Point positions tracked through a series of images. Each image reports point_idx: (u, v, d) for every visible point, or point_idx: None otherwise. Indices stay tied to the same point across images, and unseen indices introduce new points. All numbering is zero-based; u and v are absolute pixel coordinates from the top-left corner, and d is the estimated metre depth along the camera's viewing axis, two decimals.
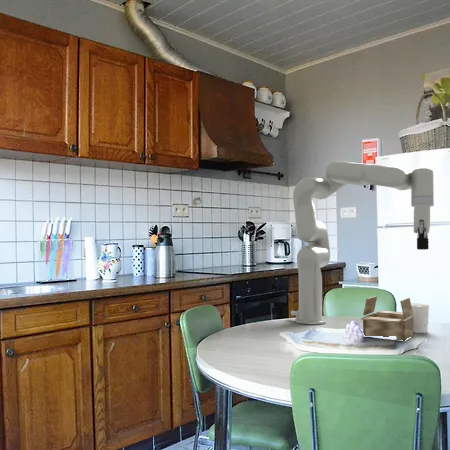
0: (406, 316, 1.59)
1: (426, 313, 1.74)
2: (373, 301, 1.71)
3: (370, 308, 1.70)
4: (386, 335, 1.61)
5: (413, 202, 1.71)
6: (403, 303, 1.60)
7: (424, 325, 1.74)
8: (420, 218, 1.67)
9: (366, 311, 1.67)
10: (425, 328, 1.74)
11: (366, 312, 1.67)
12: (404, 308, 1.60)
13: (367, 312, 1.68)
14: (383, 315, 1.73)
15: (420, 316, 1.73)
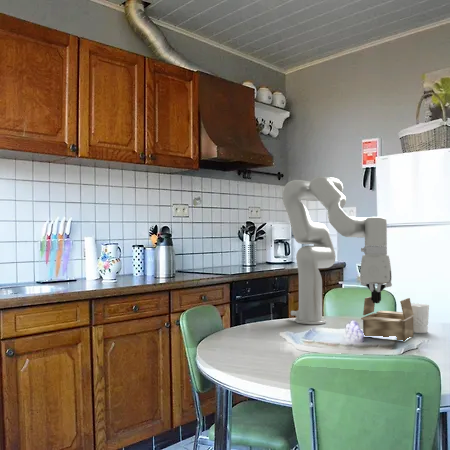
0: (406, 316, 1.59)
1: (426, 313, 1.74)
2: (371, 301, 1.71)
3: (369, 308, 1.70)
4: (386, 335, 1.61)
5: (380, 252, 1.66)
6: (403, 303, 1.60)
7: (424, 325, 1.74)
8: (390, 269, 1.67)
9: (366, 311, 1.67)
10: (425, 328, 1.74)
11: (366, 312, 1.67)
12: (404, 308, 1.60)
13: (367, 312, 1.68)
14: (383, 315, 1.73)
15: (420, 316, 1.73)
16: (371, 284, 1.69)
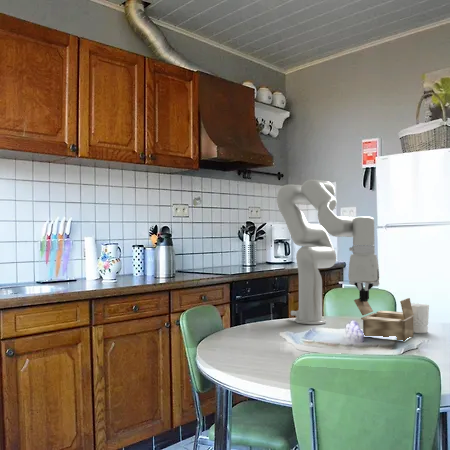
0: (406, 316, 1.59)
1: (426, 313, 1.74)
2: (363, 301, 1.73)
3: (366, 308, 1.71)
4: (386, 335, 1.61)
5: (368, 251, 1.69)
6: (403, 303, 1.60)
7: (424, 325, 1.74)
8: (377, 268, 1.69)
9: (363, 311, 1.68)
10: (425, 328, 1.74)
11: (364, 312, 1.68)
12: (404, 308, 1.60)
13: (365, 312, 1.69)
14: (383, 315, 1.73)
15: (420, 316, 1.73)
16: (359, 283, 1.71)
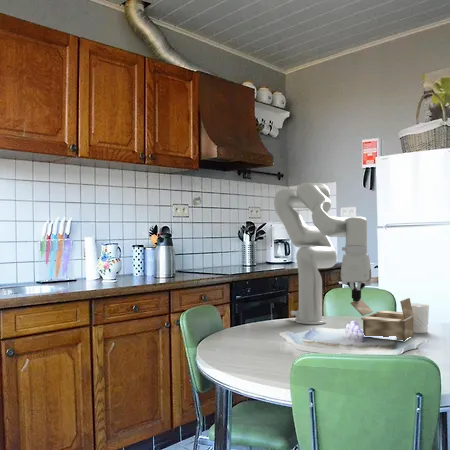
0: (406, 316, 1.59)
1: (426, 313, 1.74)
2: (360, 303, 1.74)
3: (364, 309, 1.71)
4: (386, 335, 1.61)
5: (360, 251, 1.70)
6: (403, 303, 1.60)
7: (424, 325, 1.74)
8: (369, 268, 1.71)
9: (362, 312, 1.68)
10: (425, 328, 1.74)
11: (363, 312, 1.68)
12: (404, 308, 1.60)
13: (365, 312, 1.69)
14: (383, 315, 1.73)
15: (420, 316, 1.73)
16: (351, 282, 1.73)
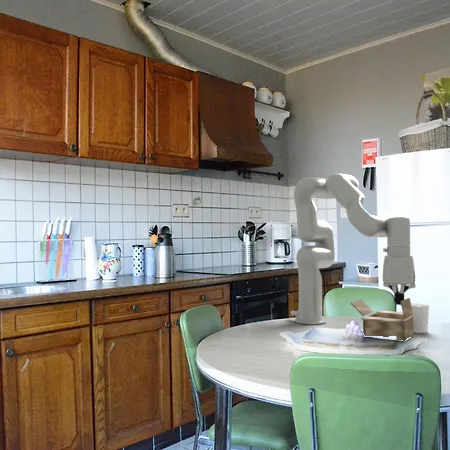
0: (406, 316, 1.59)
1: (426, 313, 1.74)
2: (360, 303, 1.74)
3: (364, 309, 1.71)
4: (386, 335, 1.61)
5: (403, 252, 1.62)
6: (403, 303, 1.60)
7: (424, 325, 1.74)
8: (413, 270, 1.62)
9: (362, 312, 1.68)
10: (425, 328, 1.74)
11: (363, 312, 1.68)
12: (404, 308, 1.60)
13: (365, 312, 1.69)
14: (383, 315, 1.73)
15: (420, 316, 1.73)
16: (394, 285, 1.64)
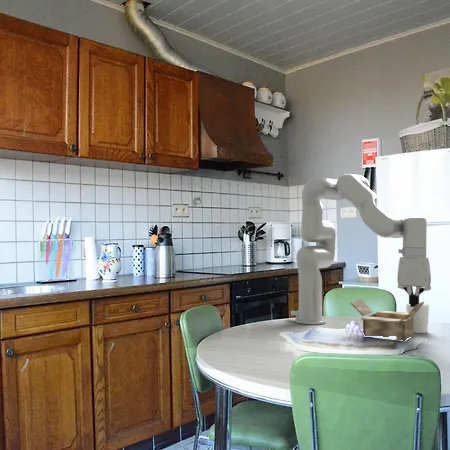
0: (408, 317, 1.59)
1: (426, 313, 1.74)
2: (360, 303, 1.74)
3: (364, 309, 1.71)
4: (386, 335, 1.61)
5: (420, 254, 1.59)
6: (416, 307, 1.58)
7: (424, 325, 1.74)
8: (429, 272, 1.59)
9: (362, 312, 1.68)
10: (425, 328, 1.74)
11: (363, 312, 1.68)
12: (413, 311, 1.58)
13: (365, 312, 1.69)
14: (383, 315, 1.73)
15: (420, 316, 1.73)
16: (409, 287, 1.62)
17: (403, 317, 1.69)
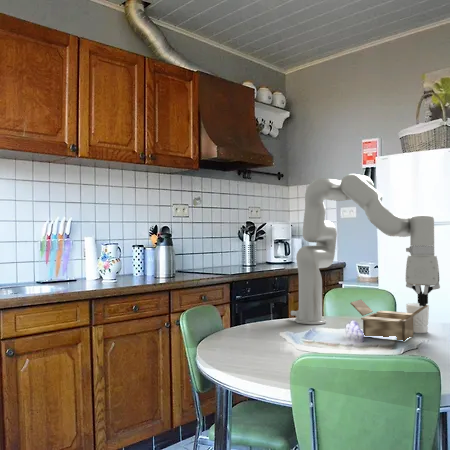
0: None
1: (426, 313, 1.74)
2: (360, 303, 1.74)
3: (364, 309, 1.71)
4: (386, 335, 1.61)
5: (428, 252, 1.57)
6: (419, 310, 1.57)
7: (424, 325, 1.74)
8: (438, 270, 1.58)
9: (362, 312, 1.68)
10: (425, 328, 1.74)
11: (363, 312, 1.68)
12: (415, 313, 1.58)
13: (365, 312, 1.69)
14: (383, 315, 1.73)
15: (420, 316, 1.73)
16: (417, 286, 1.60)
17: (403, 317, 1.69)
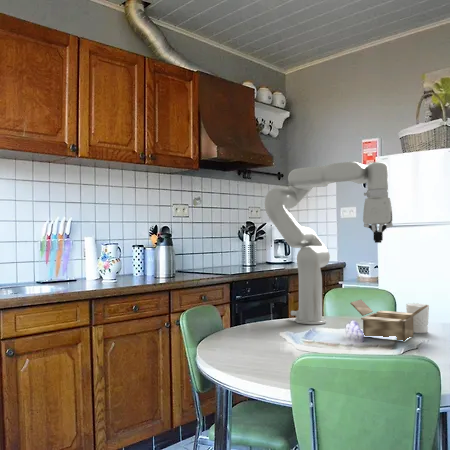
0: None
1: (426, 313, 1.74)
2: (360, 303, 1.74)
3: (364, 309, 1.71)
4: (386, 335, 1.61)
5: (382, 194, 1.78)
6: (419, 310, 1.57)
7: (424, 325, 1.74)
8: (391, 210, 1.79)
9: (362, 312, 1.68)
10: (425, 328, 1.74)
11: (363, 312, 1.68)
12: (415, 313, 1.58)
13: (365, 312, 1.69)
14: (383, 315, 1.73)
15: (420, 316, 1.73)
16: (373, 225, 1.81)
17: (403, 317, 1.69)
